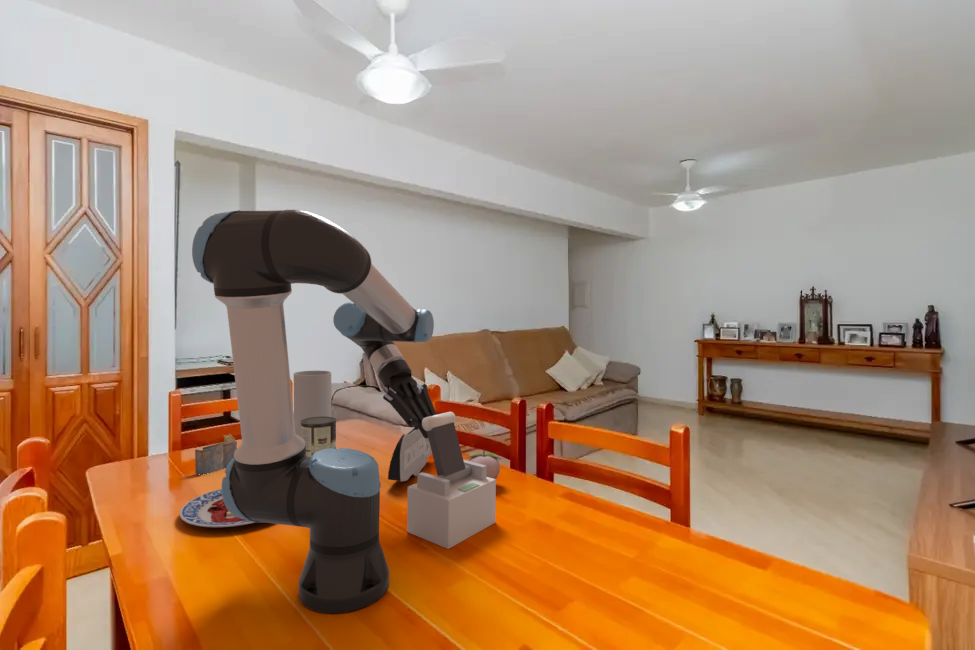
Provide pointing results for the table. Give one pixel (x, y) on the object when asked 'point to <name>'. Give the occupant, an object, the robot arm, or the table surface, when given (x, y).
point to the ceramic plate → (210, 512)
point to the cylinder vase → (311, 396)
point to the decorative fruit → (487, 463)
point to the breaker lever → (445, 446)
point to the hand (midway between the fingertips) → (439, 447)
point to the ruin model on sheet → (215, 456)
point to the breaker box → (451, 506)
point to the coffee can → (318, 433)
